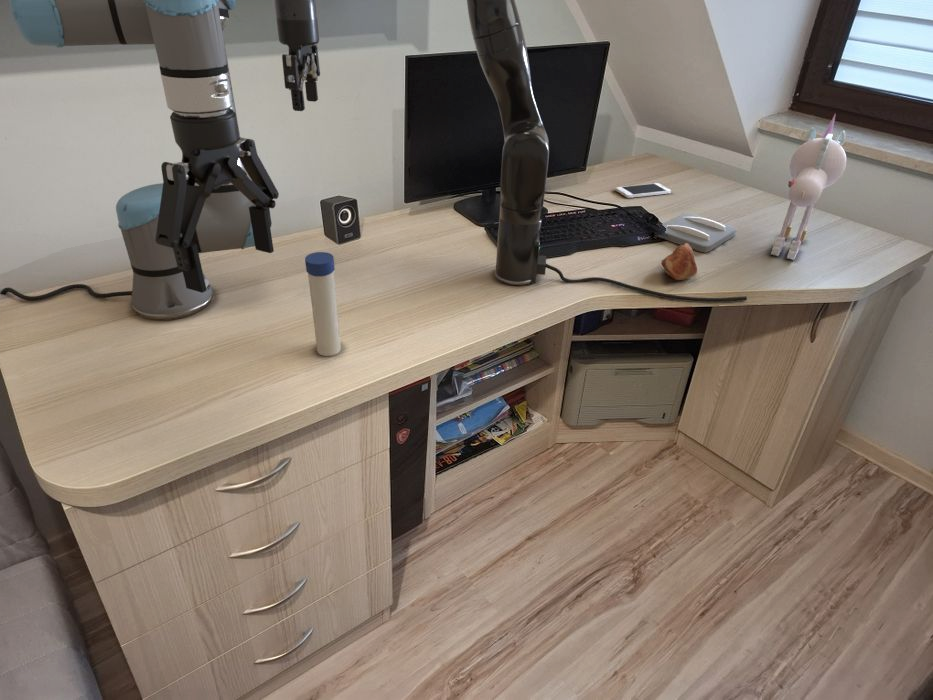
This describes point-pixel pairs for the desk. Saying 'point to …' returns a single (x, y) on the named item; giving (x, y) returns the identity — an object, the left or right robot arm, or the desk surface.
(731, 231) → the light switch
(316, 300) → the bottle
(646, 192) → the smartphone
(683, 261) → the brown lumpy piece
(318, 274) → the lid
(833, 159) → the toy
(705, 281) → the desk surface
